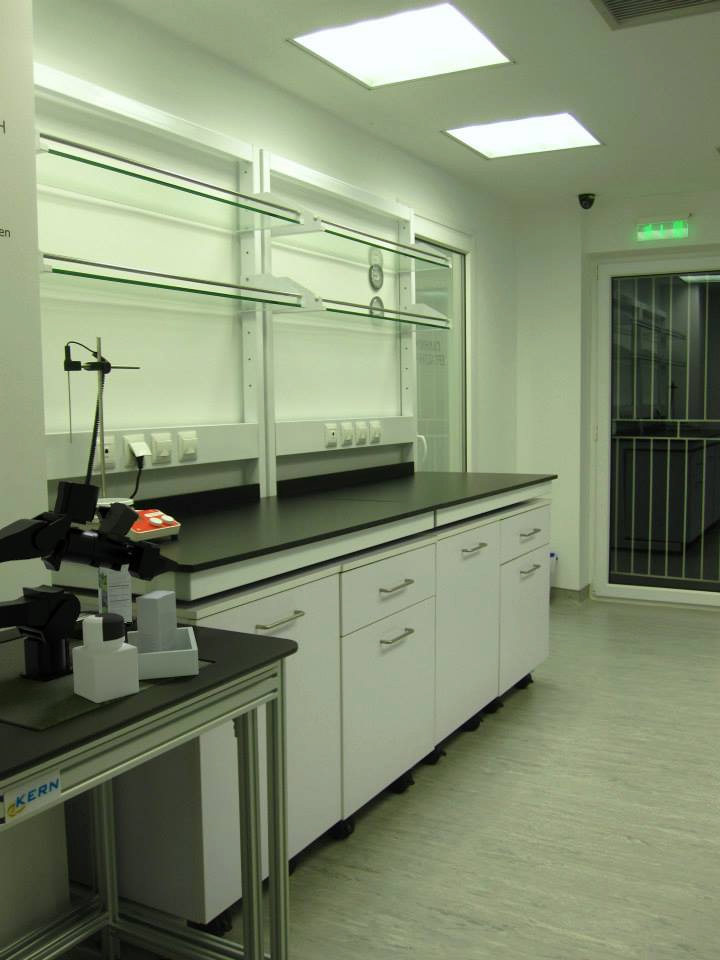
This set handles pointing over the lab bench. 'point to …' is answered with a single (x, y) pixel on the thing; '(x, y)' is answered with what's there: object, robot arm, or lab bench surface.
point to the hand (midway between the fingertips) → (163, 561)
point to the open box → (168, 657)
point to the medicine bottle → (105, 660)
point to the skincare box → (157, 622)
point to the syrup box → (115, 592)
